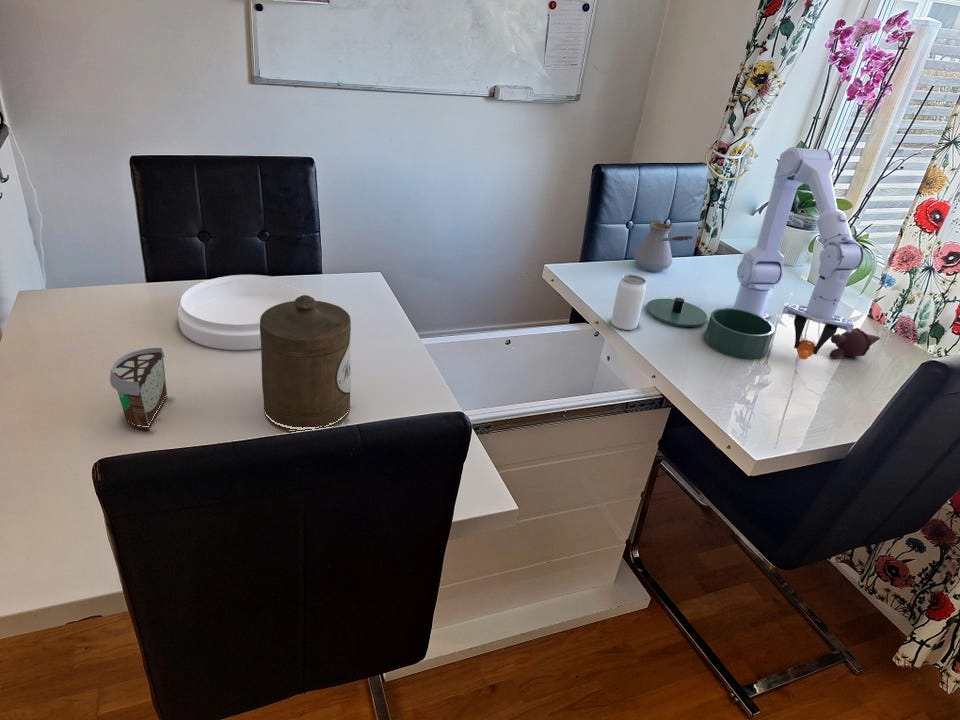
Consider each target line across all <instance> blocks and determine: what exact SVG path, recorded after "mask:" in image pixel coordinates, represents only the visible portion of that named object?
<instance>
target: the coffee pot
mask: <svg viewBox="0 0 960 720" xmlns="http://www.w3.org/2000/svg"><path fill="white" fill-rule="evenodd" d="M649 228H650V231H649V233H648V234H647V235H646V236H645V238H644V239H643V241H642V242H641V244H640V245H639V246H638V248H637V249H636V250H635V252H634V253H633V260H634V261H635V263H636V264H637V266H638V268H640V269H642V270H644V271H646V272H652V273H661V272H664V270H666V269H669V268H670V267H671V265H672V264H673V255H672V249H671V245H670V241H675V242H677V241H678V242H679V241H681V242H682V241H687V243H688V244H690V245H694V243H695V242H696V238H694V237H693V236H691V235H681V236H680V235H679V236H674V237H669V233H670V231H672V226H670V225H669V224H666V223H662V222H650V223H649ZM692 239H693V242H691V243H690V242H689V240H692Z"/></svg>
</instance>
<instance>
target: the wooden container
mask: <svg viewBox="0 0 960 720" xmlns="http://www.w3.org/2000/svg"><path fill="white" fill-rule="evenodd" d="M351 321H352V319H351V316H350V314H349V313H348V312H347V311H346V310H345V309H344V308H342V307H341V306H338V305H336V304H333V303H330V302H326V301H321V300H315V298H314V297H312V296H310V295H307V294H305V295H302V296H300V297H298V298H296V300H295V301H291V302H285V303H281V304H278V305H275V306H273V307H271V308H269V309H268V310H266V311H265V312H264V313H263V314H262V315H261V318H260V337H261V349H260V357H261V361H260V362H261V386H262V387H261V388H262V398H263V400H262V401H263V412H264V410H265V412H266V414H267V415H268V416H269V417H270V418H271V419H272V420H274V421H275V422H277V423H280V424H283V425H287V426H292V427H302V428H303V427H318V426H319V428H326V427H332V426H335V427H337V426H339V425H340V424H341V423H343V422H344V421H345V420H346V419H347V418H348V416H349V414H350V411H351V381H352V380H351V379H352V378H351V377H352V376H351V373H352V372H351V369H352V368H351V334H352V333H351V331H352V323H351ZM349 408H350V409H349ZM348 410H349V411H348ZM265 412H264V417H265V419H266V420H267V422H268V423H269V424H270V425H272V426H273V427H275V428H277V429H278V430H281V431H284V432H288V431H289V430H295V431H289V432H288V433H292V432H296V431H305V430H312V429H305V430H297V429H290V428H286V427H282V426H280V425H277V424H275V423H274V422H272V421H271V420H270V419H269V418H268V417H267V416H266V414H265ZM347 412H348V413H347ZM346 413H347V414H346ZM345 414H346V415H345ZM344 415H345V416H344ZM343 416H344V417H343ZM341 417H343V418H342V419H341V420H339V421H338V419H340V418H341ZM336 421H338V422H336ZM333 422H336V423H334V424H332V425H329V423H333ZM337 424H338V425H337ZM326 425H329V426H326ZM320 426H322V427H320ZM324 426H326V427H324ZM319 428H315V429H319Z"/></svg>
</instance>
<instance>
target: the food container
mask: <svg viewBox="0 0 960 720" xmlns="http://www.w3.org/2000/svg"><path fill="white" fill-rule="evenodd" d="M164 358H165V352H164V350H163V347H147V348H142V349H137V350H133V351H132V352H131V351H130V352H128V353H126V354H124V355H122V356H121V357H119V358H118V359H116V360H115V362H114V363H113V364H112V367H111V369H110V373H109V383H110V386H111V387H112V388H113V389H114V390H116V391H117V394H118V397H119V401H120V404H121V408H122V411H123V414H124V418H125V421H126V424H127V425H128V426H129V427H130V428H132V429H133V430H136V431H140V432H146V433H147V432H149V433H150V432H151V430H152V428H153V427H154V426H155V424H156V422H157V420H158V418H159V416H160V415H161V413H162V411H163V410H164V408H165V406H166V405H167V402H168V401H169V397H168V390H167V380H166V372H165V362H164ZM166 395H167V396H166ZM165 396H166V397H165ZM164 398H165V399H164ZM163 400H164V401H163ZM162 401H163V403H162ZM161 403H162V404H161ZM160 405H161V406H160ZM159 406H160V408H159ZM158 408H159V409H158ZM157 410H158V411H157ZM156 411H157V413H156ZM155 413H156V414H155ZM154 414H155V416H154ZM153 416H154V418H153ZM152 418H153V420H152ZM151 420H152V421H151ZM128 421H129V422H128ZM150 422H151V423H150ZM132 423H133V424H132ZM149 423H150V425H149ZM134 424H135V425H134ZM137 425H141V426H137ZM142 426H149V427H142Z"/></svg>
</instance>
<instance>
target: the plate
mask: <svg viewBox="0 0 960 720" xmlns="http://www.w3.org/2000/svg"><path fill="white" fill-rule="evenodd" d="M302 295H306V292H305V291H304V290H303V289H302V287H300V286H299V285H297V284H295V282H292V281H289V280H287V279H284V278H280V277H276V276H270V275H262V274H234V275H226V276H221V277H220V276H219V277H215V278H211V279H207V280H205V281H201V282H199V283H197V284H194V285H193V286H191V287H190V288H188V289H187V290H186V291H185V292H184V293H183V294H182V296H181V298H180V303H179V305H178V307H177V320H178V327H179V330H180V331H181V333H182V334H183V335H184V336H185V337H186V338H187V339H189V340H190V341H192V342H194V343H196V344H198V345H202V346H205V347H208V348H213V349H218V350H224V351H225V350H226V351H252V350H253V351H254V350H261V337H260V318H261V315H262V314H263V313H264V312H265V311H266V310H268V309H269V308H271V307H273V306H275V305H278V304H281V303H285V302H291V301H295V300H296V298H298V297H300V296H302Z"/></svg>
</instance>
